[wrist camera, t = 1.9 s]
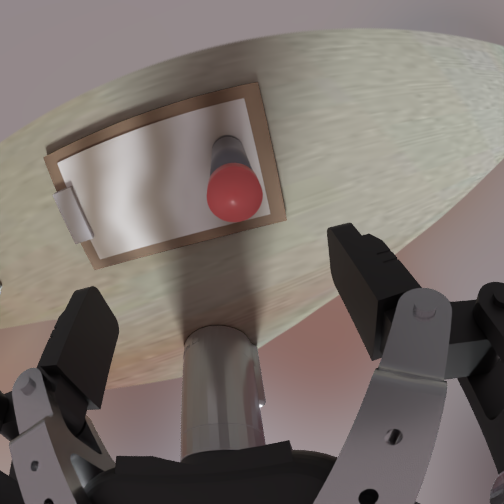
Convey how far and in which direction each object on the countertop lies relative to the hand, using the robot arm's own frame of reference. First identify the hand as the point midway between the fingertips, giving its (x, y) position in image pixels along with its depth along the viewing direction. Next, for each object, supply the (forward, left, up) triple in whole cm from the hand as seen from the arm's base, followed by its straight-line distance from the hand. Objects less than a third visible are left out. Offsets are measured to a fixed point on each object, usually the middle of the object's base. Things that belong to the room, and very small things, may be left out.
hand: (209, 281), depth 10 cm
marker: (-1, -1, -19) cm, 19 cm away
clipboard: (+3, +6, -20) cm, 21 cm away
